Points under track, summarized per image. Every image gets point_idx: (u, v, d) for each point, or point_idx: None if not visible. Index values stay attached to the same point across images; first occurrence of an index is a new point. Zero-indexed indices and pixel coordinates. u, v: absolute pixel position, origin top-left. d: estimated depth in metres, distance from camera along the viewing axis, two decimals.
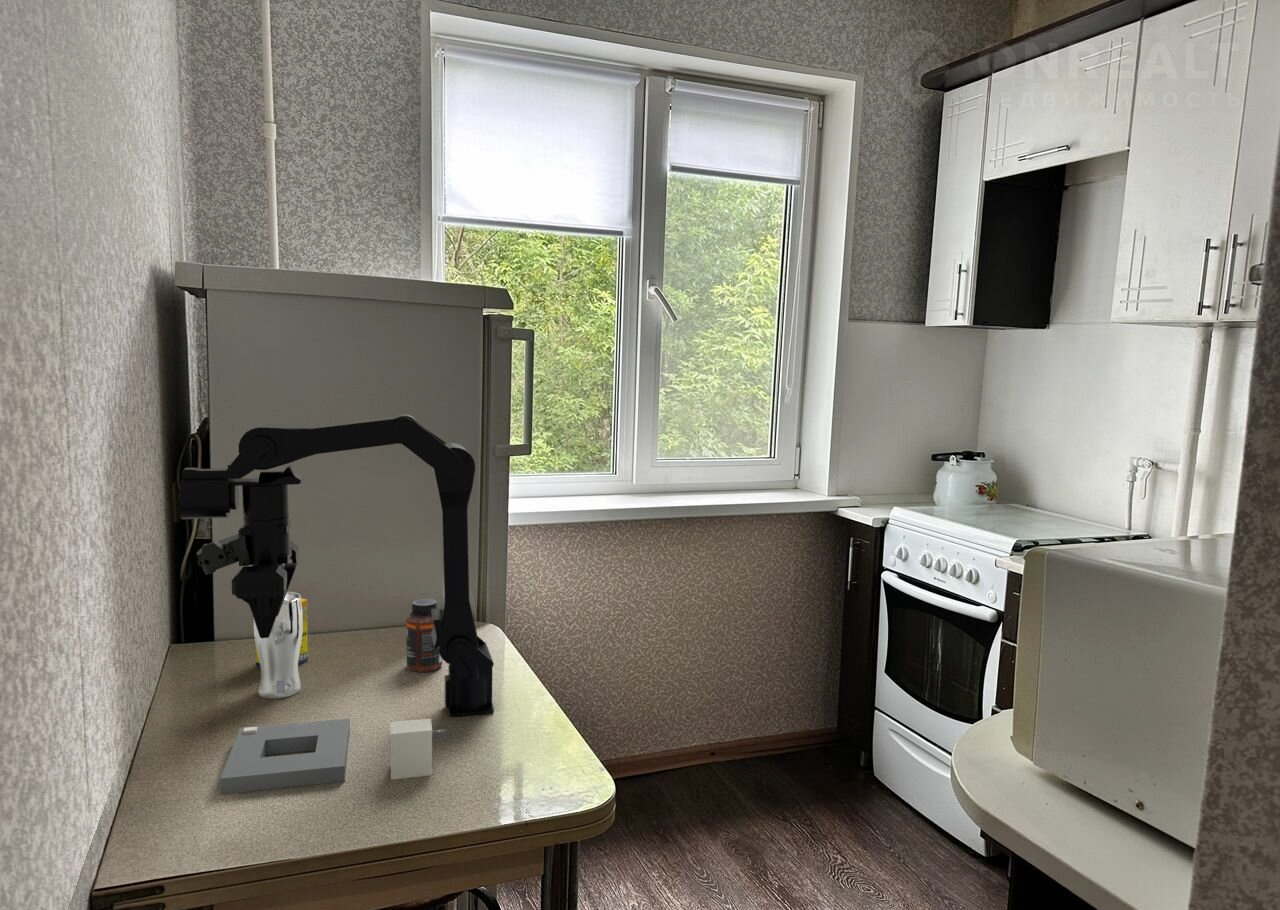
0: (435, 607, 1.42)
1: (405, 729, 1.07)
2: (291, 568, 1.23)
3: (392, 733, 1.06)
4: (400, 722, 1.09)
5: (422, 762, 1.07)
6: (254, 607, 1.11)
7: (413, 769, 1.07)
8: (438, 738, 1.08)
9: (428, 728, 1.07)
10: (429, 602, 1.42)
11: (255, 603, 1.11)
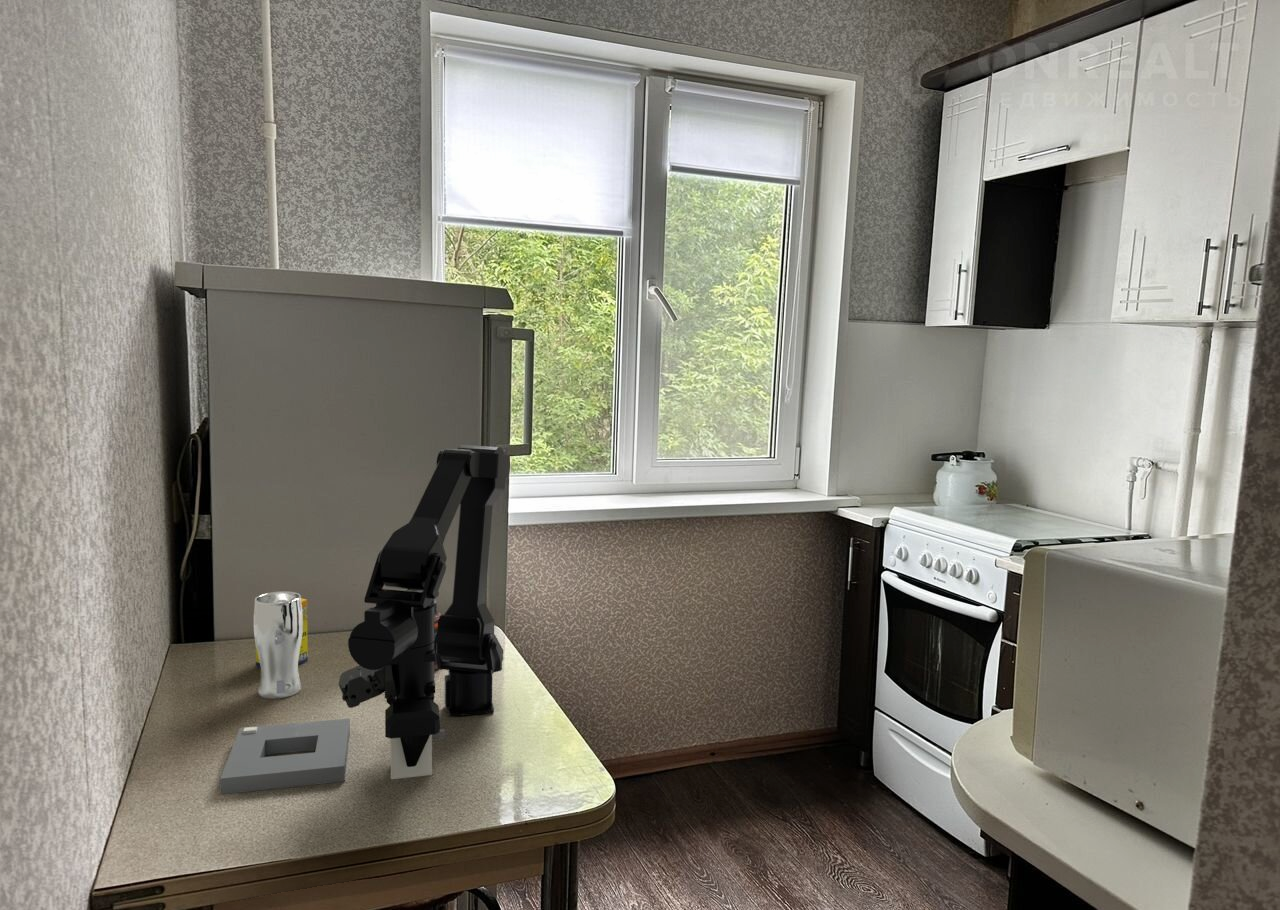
0: (435, 607, 1.42)
1: None
2: (430, 698, 1.11)
3: None
4: None
5: (422, 762, 1.07)
6: (404, 736, 1.04)
7: (413, 769, 1.07)
8: (438, 738, 1.08)
9: None
10: None
11: None
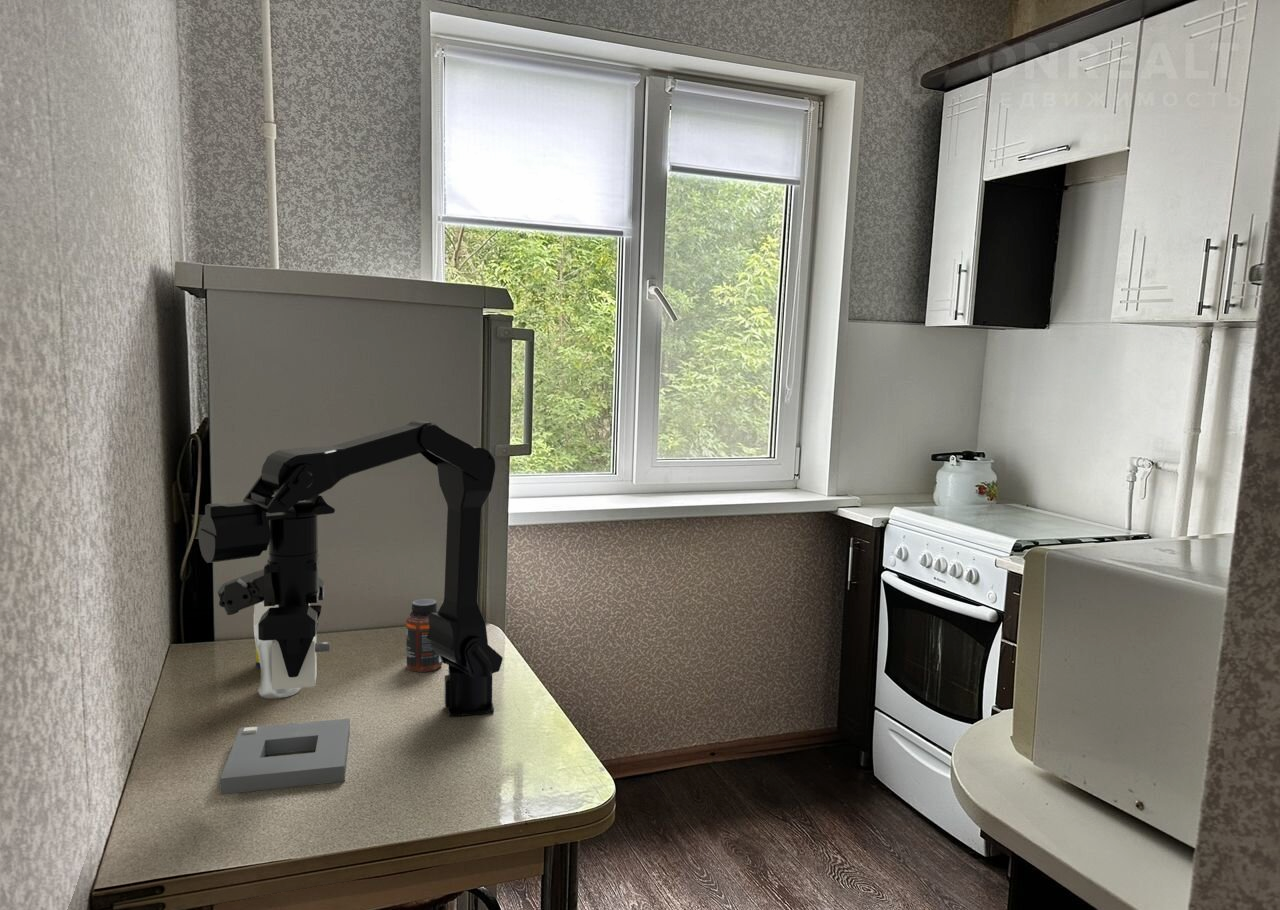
0: (435, 607, 1.42)
1: None
2: (316, 612, 1.10)
3: (273, 642, 1.05)
4: None
5: (304, 673, 1.07)
6: (283, 645, 1.04)
7: (295, 679, 1.07)
8: (322, 650, 1.08)
9: None
10: (429, 602, 1.42)
11: (285, 640, 1.04)
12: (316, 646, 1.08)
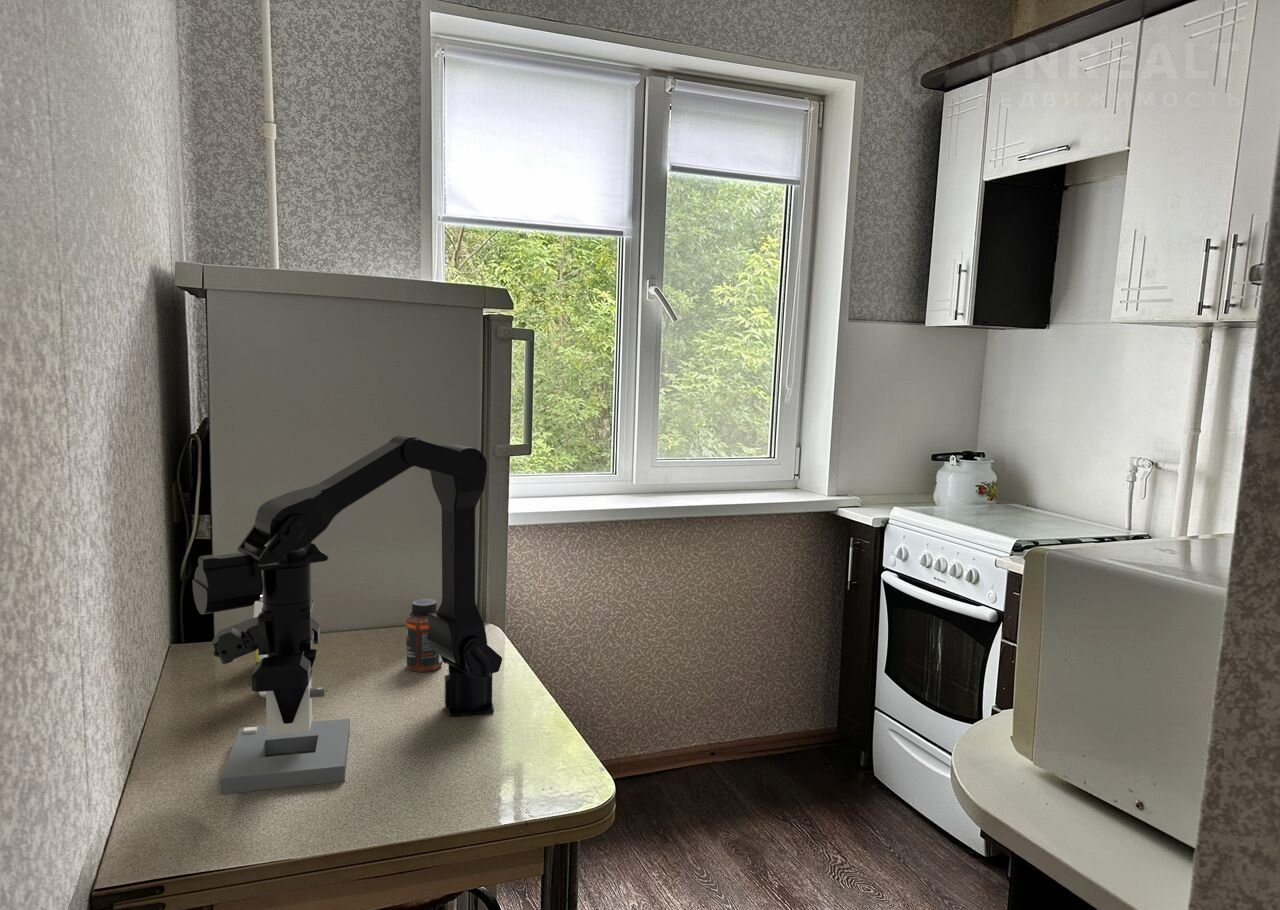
0: (435, 607, 1.42)
1: None
2: (311, 657, 1.11)
3: None
4: None
5: (299, 719, 1.08)
6: (278, 692, 1.05)
7: (290, 726, 1.08)
8: (316, 695, 1.09)
9: None
10: (429, 602, 1.42)
11: None
12: (311, 692, 1.09)
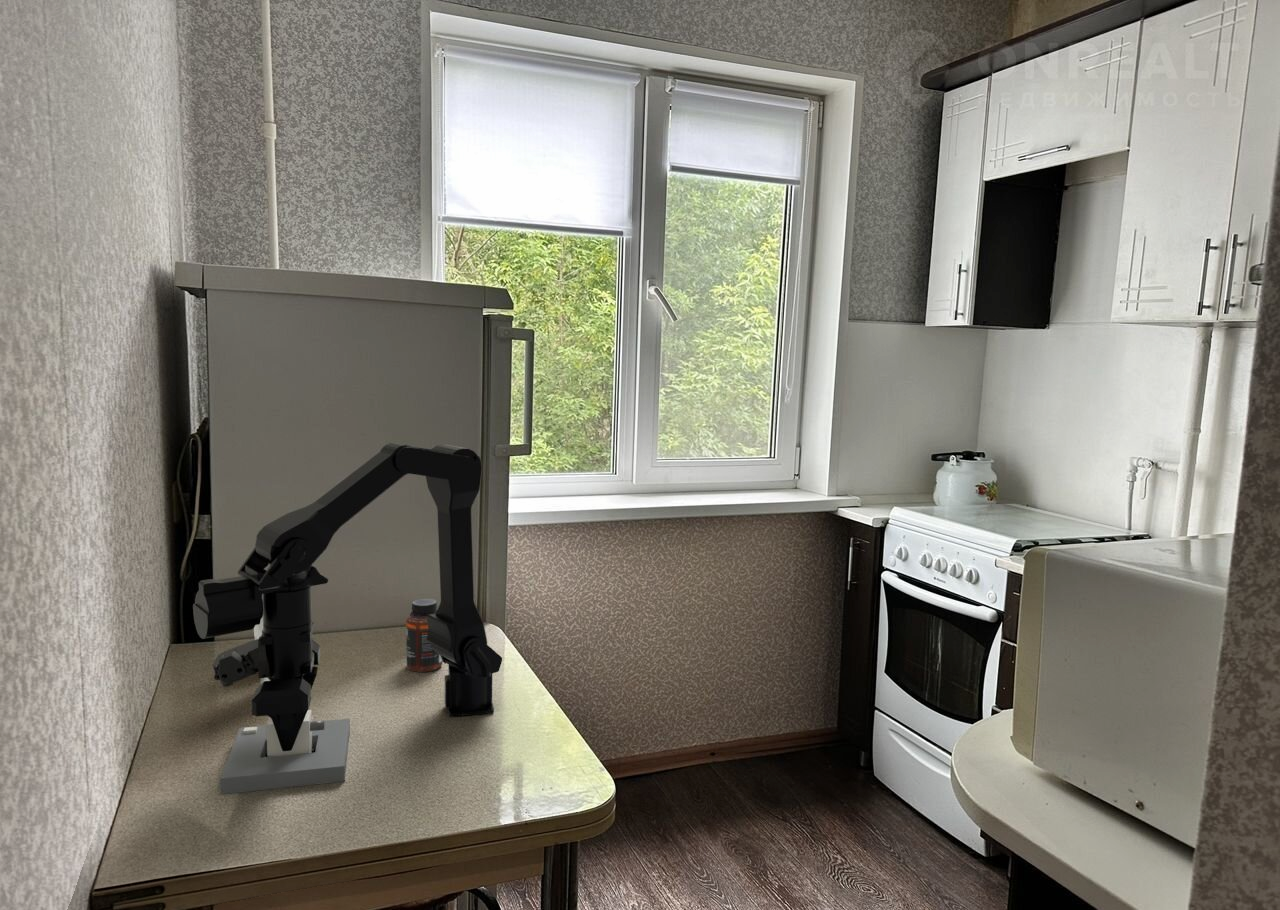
0: (435, 607, 1.42)
1: None
2: (312, 674, 1.13)
3: (268, 724, 1.07)
4: None
5: (299, 752, 1.08)
6: (276, 720, 1.04)
7: None
8: (317, 729, 1.10)
9: (306, 719, 1.09)
10: (429, 602, 1.42)
11: (278, 716, 1.04)
12: (311, 725, 1.10)
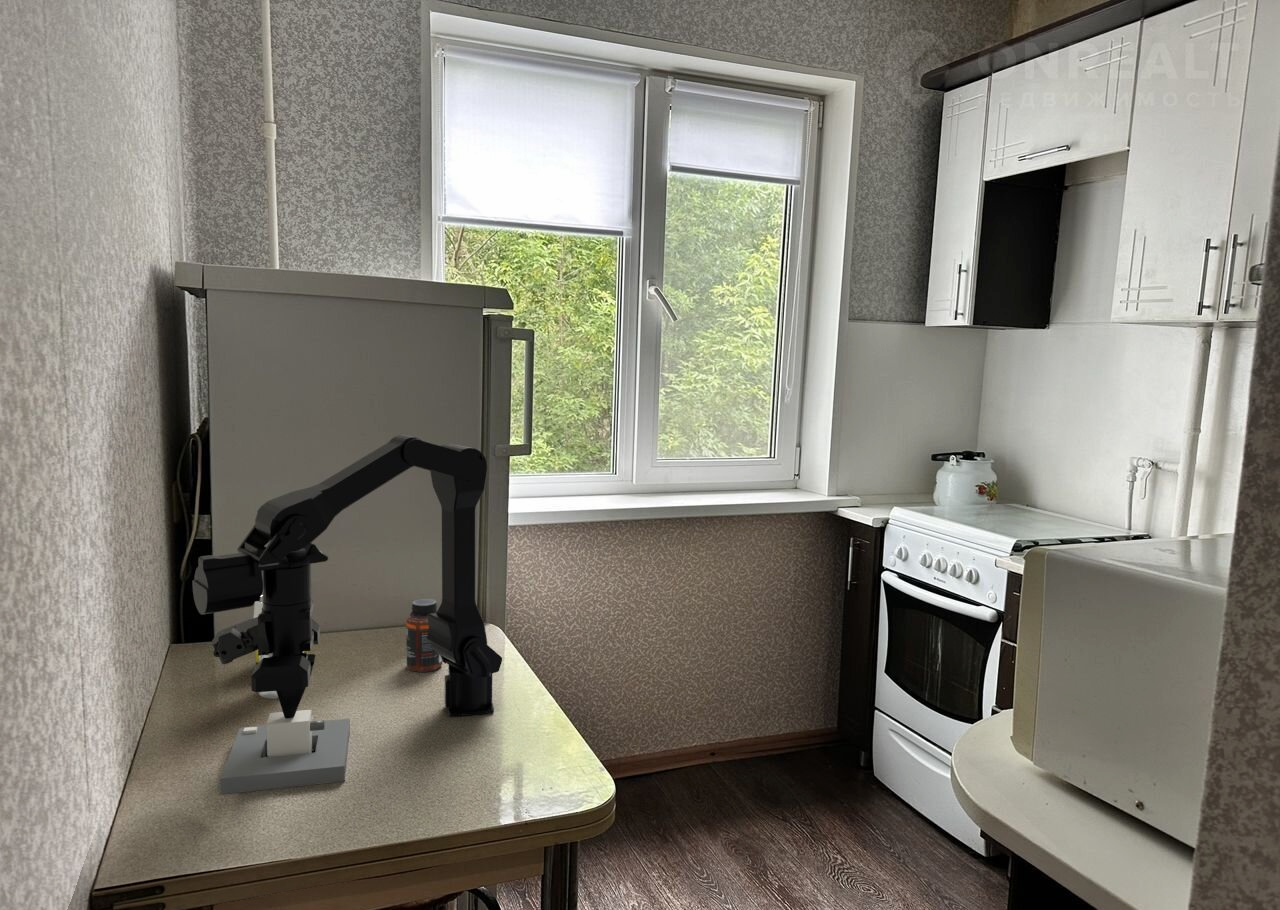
0: (435, 607, 1.42)
1: (283, 719, 1.08)
2: (309, 662, 1.10)
3: (268, 724, 1.07)
4: (280, 713, 1.10)
5: (299, 752, 1.08)
6: None
7: None
8: (317, 729, 1.10)
9: (306, 719, 1.09)
10: (429, 602, 1.42)
11: None
12: (311, 725, 1.10)
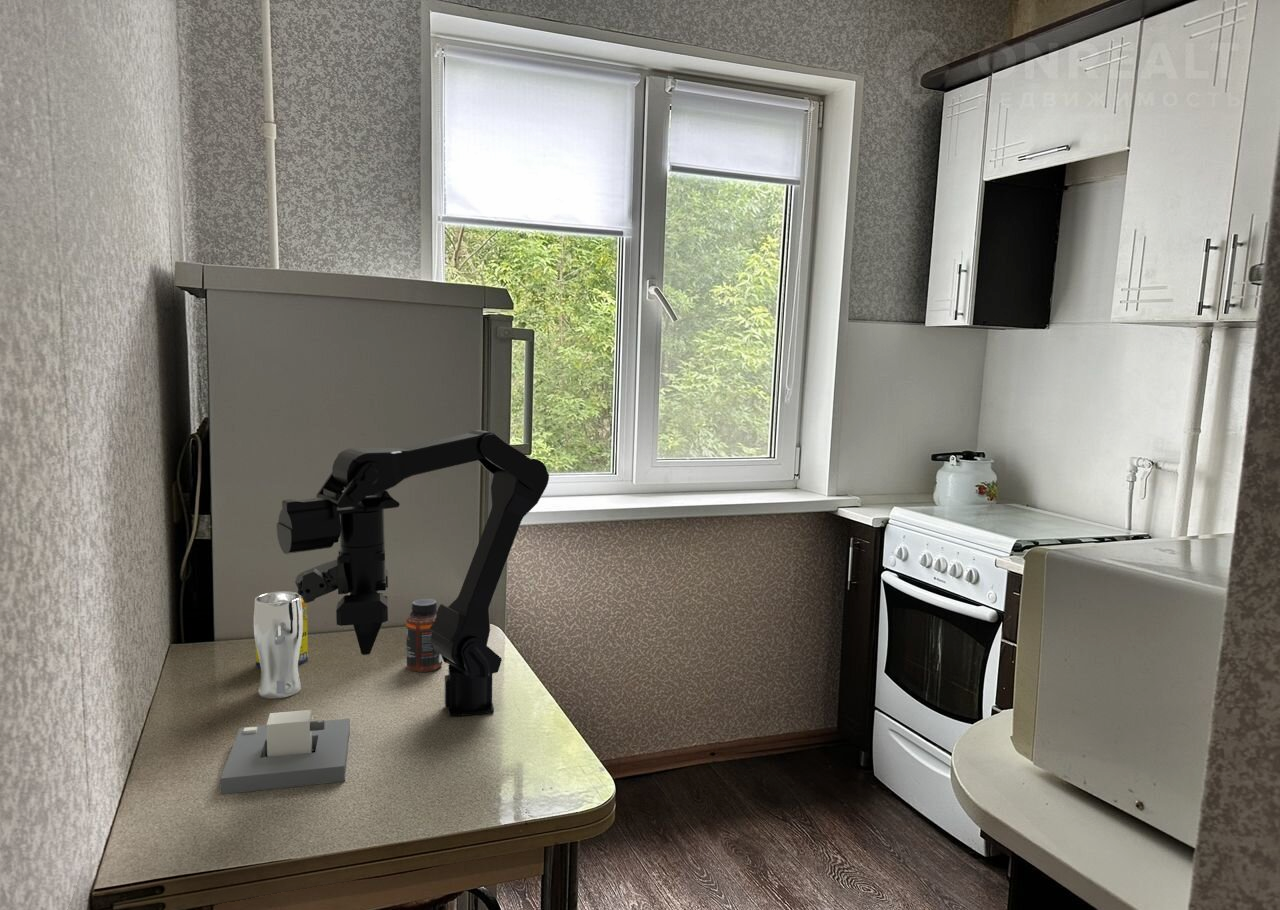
0: (435, 607, 1.42)
1: (282, 719, 1.08)
2: None
3: (268, 724, 1.07)
4: (279, 713, 1.10)
5: (299, 752, 1.08)
6: (357, 625, 1.14)
7: None
8: (317, 729, 1.10)
9: (305, 719, 1.09)
10: (429, 602, 1.42)
11: None
12: (311, 725, 1.10)
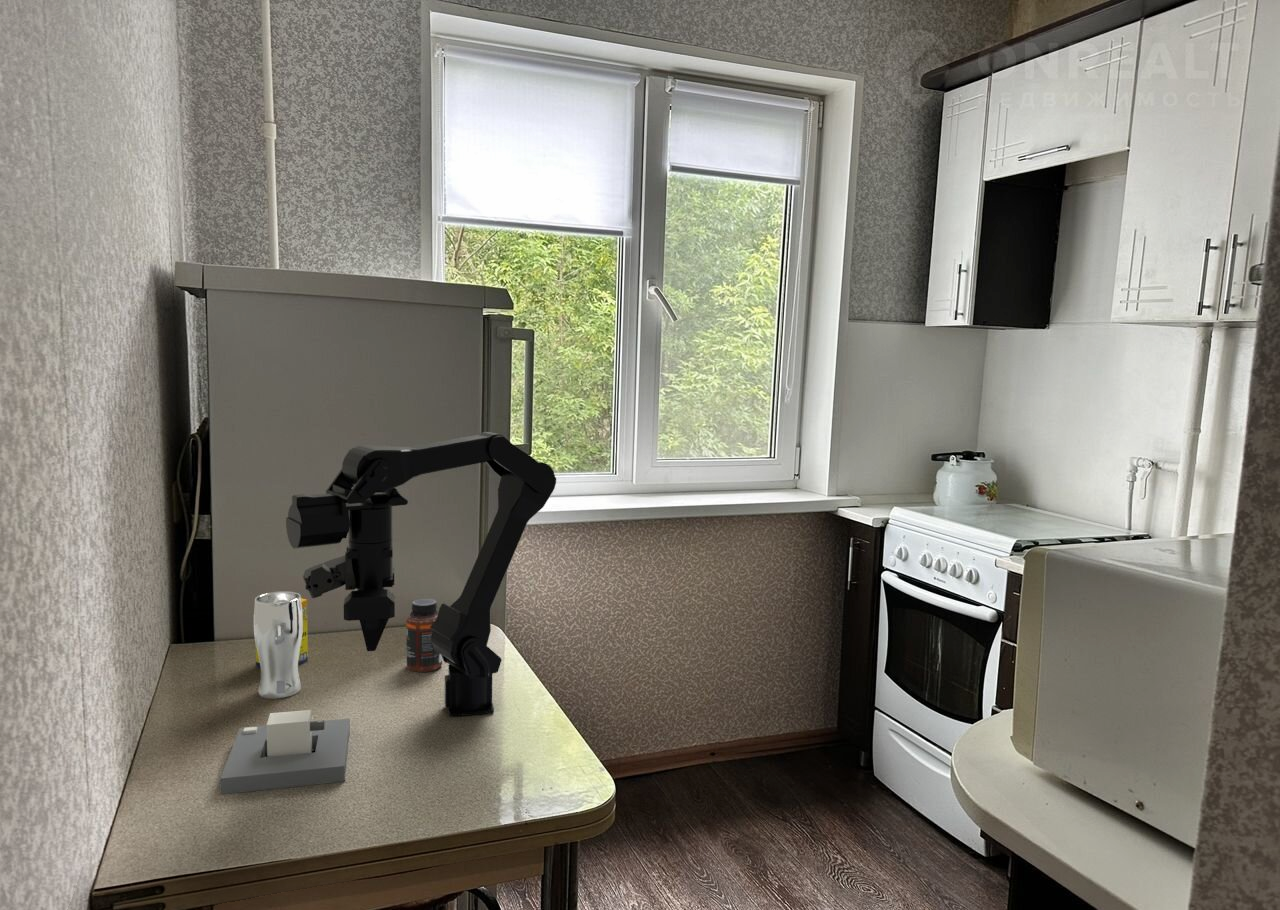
0: (435, 607, 1.42)
1: (283, 719, 1.08)
2: None
3: (268, 724, 1.07)
4: (279, 713, 1.10)
5: (299, 752, 1.08)
6: (363, 621, 1.14)
7: None
8: (317, 729, 1.10)
9: (306, 719, 1.09)
10: (429, 602, 1.42)
11: None
12: (311, 725, 1.10)
